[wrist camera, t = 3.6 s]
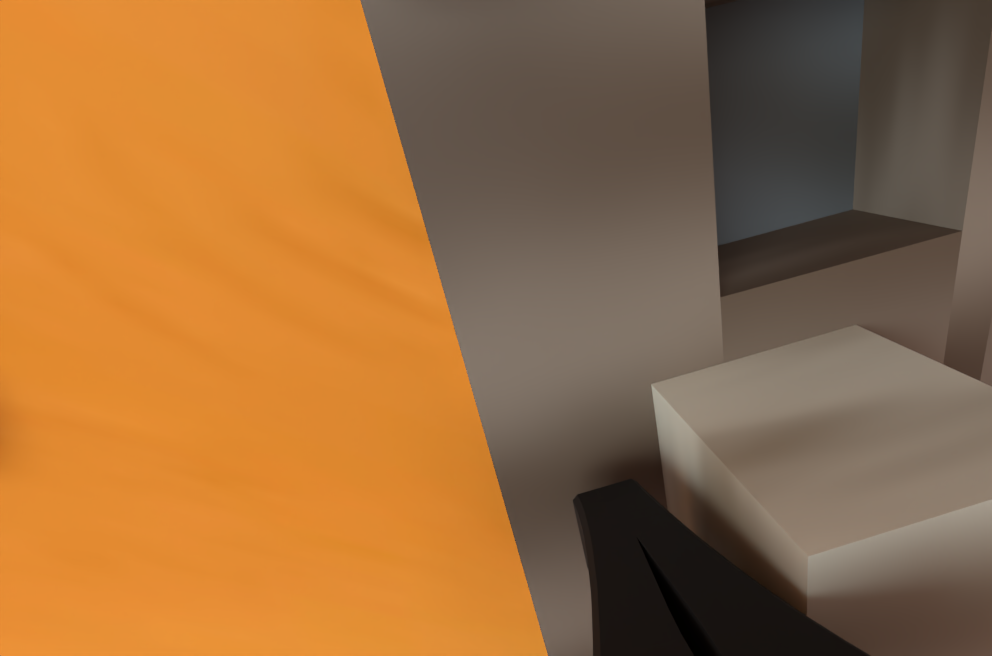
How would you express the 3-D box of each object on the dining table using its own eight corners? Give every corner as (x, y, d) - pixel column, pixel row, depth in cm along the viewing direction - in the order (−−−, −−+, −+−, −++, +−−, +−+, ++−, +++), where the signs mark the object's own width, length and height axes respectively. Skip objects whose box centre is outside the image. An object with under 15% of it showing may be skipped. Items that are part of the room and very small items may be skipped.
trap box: (1147, 506, 19) (1411, 644, 14) (560, 687, 18) (617, 908, 13) (1452, -305, 10) (2433, -708, 5) (352, -49, 9) (277, -254, 4)
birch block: (847, 489, 12) (1064, 673, 8) (671, 543, 12) (804, 759, 8) (856, 324, 10) (1138, 453, 6) (651, 384, 10) (807, 557, 6)
